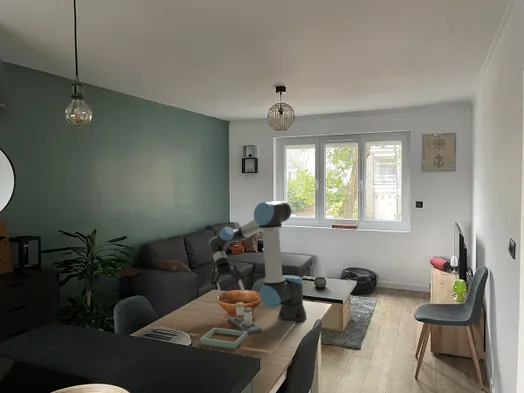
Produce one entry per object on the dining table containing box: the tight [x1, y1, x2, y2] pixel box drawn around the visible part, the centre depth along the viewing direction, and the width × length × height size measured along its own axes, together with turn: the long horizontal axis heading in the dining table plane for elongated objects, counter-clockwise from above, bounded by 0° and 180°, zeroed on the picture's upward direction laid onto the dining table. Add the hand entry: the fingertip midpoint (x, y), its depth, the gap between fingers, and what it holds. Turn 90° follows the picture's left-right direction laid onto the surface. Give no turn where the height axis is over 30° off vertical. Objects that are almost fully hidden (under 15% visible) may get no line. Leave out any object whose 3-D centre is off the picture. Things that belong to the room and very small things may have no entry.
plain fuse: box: [243, 306, 253, 328], centre depth 196 cm, size 4×4×10 cm
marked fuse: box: [235, 301, 245, 322], centre depth 205 cm, size 4×4×10 cm
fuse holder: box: [227, 315, 263, 335], centre depth 201 cm, size 24×8×2 cm, turn 27°
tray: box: [199, 327, 249, 351], centre depth 184 cm, size 18×14×3 cm
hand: (231, 292), depth 214 cm, fingers open, 13 cm apart
